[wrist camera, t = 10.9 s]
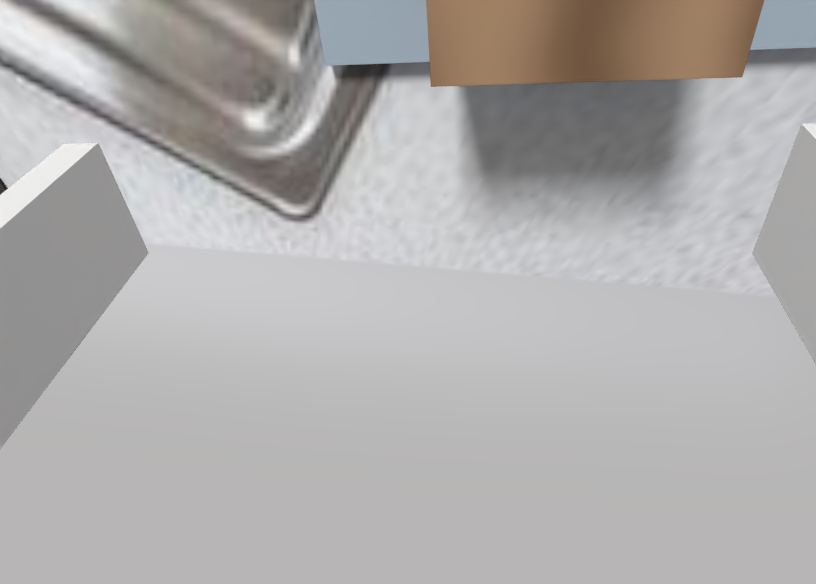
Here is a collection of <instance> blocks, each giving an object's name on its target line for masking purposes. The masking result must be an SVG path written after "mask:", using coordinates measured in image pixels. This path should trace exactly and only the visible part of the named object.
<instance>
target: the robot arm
mask: <svg viewBox="0 0 816 584" xmlns="http://www.w3.org/2000/svg"><path fill="white" fill-rule="evenodd" d="M147 254H148V251H147V248H146V246H145V244H144V242H143V240H142V237H141V235H140V233H139V231H138V229H137V227H136V224H135V222H134V220H133V218H132V216H131V213H130V211H129V209H128V207H127V205H126V203H125V200H124V198H123V196H122V194H121V192H120V189H119V187H118V185H117V183H116V181H115V179H114V176H113V174H112V172H111V170H110V168H109V165H108V163H107V161H106V159H105V157H104V155H103V152H102V150H101V148H100V146H99V144H98V143H75V144H63V145H62V146H60V147H59V148H58V149H57V150H55V151H54V152H53V153H52V154H50V155H49V156H48V157H47V158H45V159H44V160H43V161H42V162H40V163H39V164H38V165H37V166H36V167H34V168H33V169H32V170H31V171H29V172H28V173H27V174H26V175H24V176H23V177H22V178H21V179H19V180H18V181H17V182H16V183H14V184H13V185H12V186H11V187H9V188H8V189H7V190H5V188H4V187H3V185H2V184H1V182H0V449H1V448H2V446H3V445H4V444H5V442H6V441H7V440H8V438H9V437H10V436H11V434H12V433H13V432H14V430H15V429H16V428H17V426H18V425H19V424H20V422H21V421H22V420H23V418H24V417H25V416H26V414H27V413H28V412H29V411H30V409H31V408H32V406H33V405H34V404H35V403H36V401H37V400H38V399H39V397H40V396H41V395H42V393H43V392H44V391H45V389H46V388H47V387H48V385H49V384H50V383H51V381H52V380H53V379H54V377H55V376H56V375H57V373H58V372H59V371H60V369H61V368H62V367H63V366H64V364H65V363H66V362H67V360H68V359H69V358H70V356H71V355H72V353H73V352H74V351H75V350H76V348H77V347H78V346H79V344H80V343H81V342H82V340H83V339H84V338H85V336H86V335H87V334H88V332H89V331H90V330H91V328H92V327H93V325H94V324H95V323H96V322H97V320H98V319H99V318H100V316H101V315H102V314H103V313H104V311H105V310H106V308H107V307H108V306H109V304H110V303H111V302H112V301H113V299H114V298H115V297H116V295H117V294H118V293H119V291H120V290H121V289H122V287H123V286H124V284H125V283H126V282H127V281H128V279H129V278H130V277H131V275H132V274H133V273H134V271H135V270H136V269H137V267H138V266H139V265H140V264H141V262H142V261H143V259H144V258H145V257H146V256H147ZM752 254H753V256H754V257H755V259H756V261H757V263H758V264H759V266H760V268H761V270H762V271H763V273H764V275H765V277H766V278H767V280H768V282H769V283H770V285H771V287H772V289H773V290H774V292H775V294H776V296H777V297H778V299H779V301H780V303H781V304H782V306H783V308H784V310H785V311H786V313H787V315H788V317H789V318H790V320H791V322H792V324H793V325H794V327H795V329H796V330H797V332H798V334H799V336H800V337H801V339H802V341H803V343H804V344H805V346H806V348H807V350H808V351H809V353H810V355H811V356H812V358H813V360H814V362H815V363H816V124H801V127H800V129H799V132H798V135H797V137H796V140H795V143H794V145H793V148H792V151H791V153H790V156H789V158H788V161H787V164H786V166H785V169H784V172H783V174H782V177H781V180H780V182H779V185H778V187H777V190H776V193H775V195H774V198H773V201H772V203H771V206H770V208H769V211H768V214H767V216H766V219H765V222H764V224H763V227H762V230H761V232H760V235H759V237H758V240H757V243H756V245H755V248H754V251H753V253H752Z"/></svg>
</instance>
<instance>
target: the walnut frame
mask: <svg viewBox="0 0 816 584" xmlns="http://www.w3.org/2000/svg"><path fill="white" fill-rule="evenodd" d="M763 3H764V0H426V8H427V26H428V43H429V61H430V78H431V87H435V86H468V85H501V84H534V83H567V82H600V81H632V80H665V79H698V78H731V77H742V76H743V72H744V69H745V66H746V62H747V59H748V55H749V52H750V48H751V45H752V41H753V38H754V34H755V31H756V28H757V24H758V21H759V17H760V14H761V10H762V7H763Z"/></svg>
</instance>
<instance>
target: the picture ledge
mask: <svg viewBox="0 0 816 584" xmlns="http://www.w3.org/2000/svg"><path fill="white" fill-rule="evenodd" d="M314 1H315V7H316V13H317V19H318V25H319V30H320V36H321V42H322V48H323V54H324V59H325V65H326V66H332V65H359V64H386V63H412V62H430V61H429V43H428V26H427V8H426V0H314ZM814 47H816V0H764V3H763V7H762V10H761V14H760V17H759V21H758V24H757V28H756V31H755V34H754V38H753V41H752V45H751V48H750V50H761V49H787V48H814Z"/></svg>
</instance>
